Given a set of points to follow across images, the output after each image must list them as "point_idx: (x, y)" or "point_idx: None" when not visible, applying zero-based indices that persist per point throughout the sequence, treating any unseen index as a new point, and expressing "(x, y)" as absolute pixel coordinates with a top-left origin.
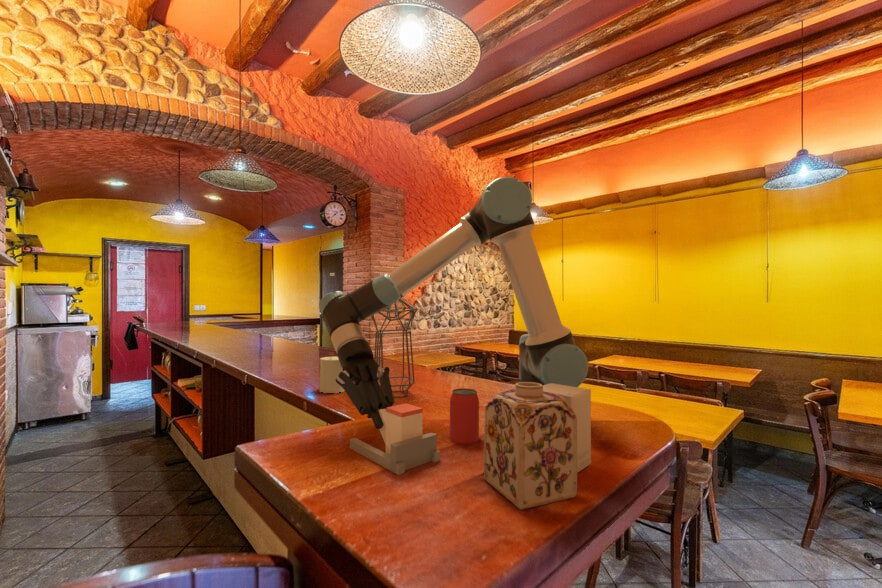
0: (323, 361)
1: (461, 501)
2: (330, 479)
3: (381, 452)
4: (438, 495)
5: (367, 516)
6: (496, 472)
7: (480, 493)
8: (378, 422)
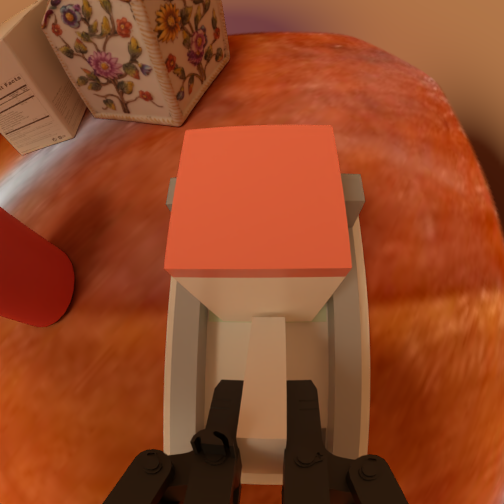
0: None
1: (276, 103)
2: (455, 340)
3: (341, 302)
4: None
5: (435, 161)
6: (193, 75)
7: (229, 103)
8: (312, 393)
